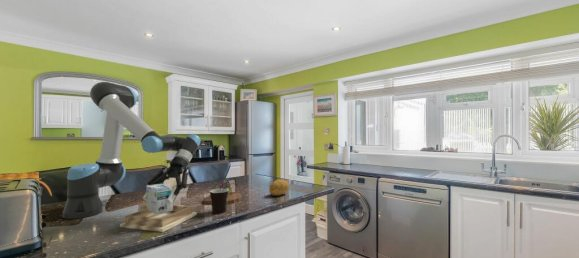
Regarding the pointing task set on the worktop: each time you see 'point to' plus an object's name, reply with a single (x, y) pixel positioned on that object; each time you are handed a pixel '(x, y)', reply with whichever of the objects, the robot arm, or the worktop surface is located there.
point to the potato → (278, 187)
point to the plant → (232, 196)
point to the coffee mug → (219, 200)
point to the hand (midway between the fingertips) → (157, 200)
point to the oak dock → (158, 219)
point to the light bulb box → (158, 198)
